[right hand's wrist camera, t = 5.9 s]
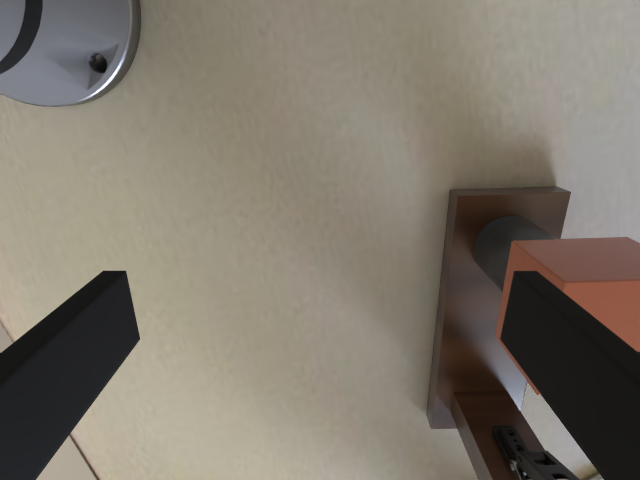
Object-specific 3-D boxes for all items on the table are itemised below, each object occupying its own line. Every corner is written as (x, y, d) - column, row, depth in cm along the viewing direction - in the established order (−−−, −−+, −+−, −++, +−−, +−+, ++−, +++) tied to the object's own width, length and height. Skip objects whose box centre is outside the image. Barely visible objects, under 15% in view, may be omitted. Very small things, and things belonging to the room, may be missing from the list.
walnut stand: (449, 189, 35) (513, 238, 23) (557, 186, 35) (672, 233, 23) (426, 415, 45) (462, 522, 34) (508, 412, 45) (571, 518, 34)
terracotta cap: (511, 240, 26) (565, 282, 20) (627, 236, 26) (713, 277, 20) (494, 336, 29) (536, 395, 23) (597, 332, 29) (665, 391, 23)
